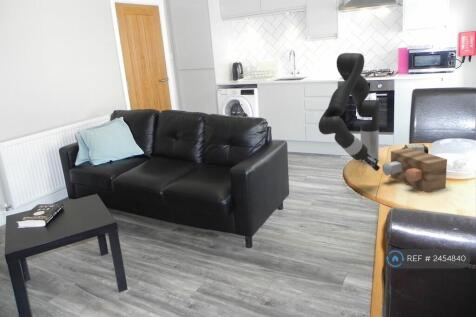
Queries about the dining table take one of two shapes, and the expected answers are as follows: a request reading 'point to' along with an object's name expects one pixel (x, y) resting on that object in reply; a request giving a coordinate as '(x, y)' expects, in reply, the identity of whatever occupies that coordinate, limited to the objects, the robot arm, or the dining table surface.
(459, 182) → the dining table surface
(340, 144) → the robot arm
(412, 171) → the terracotta plug
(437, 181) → the socket block
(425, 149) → the pneumatic valve
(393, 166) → the grey plug
